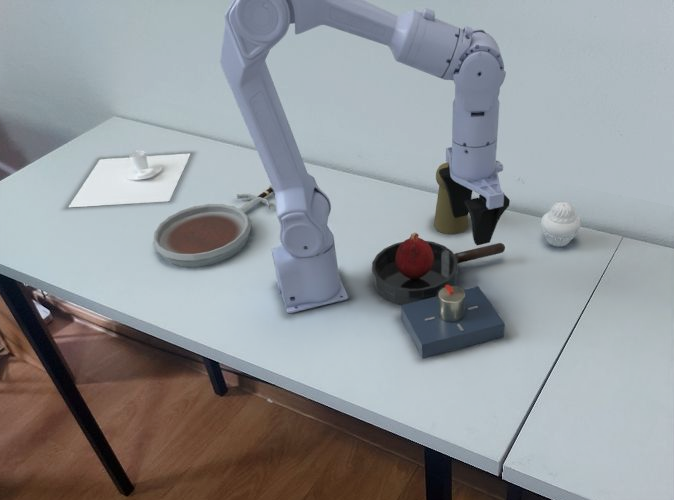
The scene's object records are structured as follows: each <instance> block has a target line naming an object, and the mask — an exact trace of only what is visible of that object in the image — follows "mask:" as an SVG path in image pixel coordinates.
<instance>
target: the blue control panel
mask: <svg viewBox="0 0 674 500" xmlns="http://www.w3.org/2000/svg"><path fill="white" fill-rule="evenodd" d="M463 290H464V292H465V314H464V317H463V318H462V319H461V320H459V321H455V322H448V321H444V320H443V319H441V318H440V317H439V305H438V296H436V297H432V298H428V299H424V300H420V301H416V302H412V303H408V304H404V305H400V319H401V320H402V323H403V324H404V326H405V328H406V330H407V332H408V334H409V335H410V338H411V339H412V342H413V343H414V345H415V347H416V349H417V351H418V353H419V354H420V357H421V359H425V358H428V357H432V356H436V355H439V354H444V353H447V352H451V351H456V350H459V349H463V348H467V347H470V346H474V345H477V344H481V343H485V342H489V341H493V340H497V339H500V338H504V337H505V328H506V327H505V326H506V323H505V321H504V319H502V317H501V316H500V314H499V313H498V311H497V310H496V309H495V307H494V306H493V304H492V303H491V302H490V300H489V298H488V297H487V296H486V294H485V293H484V292H483V291H482V289H481V288H480V286H479V285H477V286H473V287H468V288H464V289H463Z"/></svg>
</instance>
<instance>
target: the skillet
mask: <svg viewBox="0 0 674 500" xmlns="http://www.w3.org/2000/svg"><path fill="white" fill-rule="evenodd" d="M425 241H426V242H427V243H428V244H429V245H430V247H431V249H432V251H433V255H434V261H433V265H432V268H431V269H430V271H429V272H428V273H427V274H426V275H424V276H423V277H421V278H418V279H410V278H408V277H405V276H404V275H403V274H402V273H401V272H400V271H399V270H398V268H397V265H396V261H395V257H396V253H397V249H398V247H399V246H400V245H401V244H402V243H403V242H404V241H400V242H395V243H392V244H391V245H389V246H386V247H385V248H383V249H382V250H381V251H379V252H378V253H377V254H376V255H375V257H374V259H373V261H372V264H371V266H372V267H371V274H372V284H373V287H374V290H375V291H376V294H378V295H379V296H380V298H383V299H384V300H386V301H387V302H390V303H392V304H395V305H398V306H401V305H404V304H408V303H412V302H416V301H420V300H424V299H428V298H432V297H436V296H438V294H439V291H440V290H441V289H442V288H444V287H445V285H450V286H456V287H457V285H458V281H459V263H458V262H457V258H456V256H455V255H454V254H455V253H454V252H453V251H452V250H451V249H450V248H448V247H446V246H445V245H443V244H441V243H438V242H434V241H429V240H425Z"/></svg>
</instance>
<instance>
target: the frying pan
mask: <svg viewBox="0 0 674 500" xmlns="http://www.w3.org/2000/svg"><path fill="white" fill-rule="evenodd" d="M271 193H275V192H274V190H273V187H272V185H271V183H270V184H269V187H268V188H267V189H266V190H263V192H262V193H260V194H259V195H255V194H251V193H237V194H236V198H237V200H238V199H250V200H249V201H247V202H246V203H244V204H243V205H242V206H240V207H239V208H238V207H236V206H234V205H229V204H223V203H206V204H199V205H193V206H191V207H188V208H184V209H182V210H181V209H180V210H179V211H177V212H175V213H173V214H171V215H169V216H168V217H167V218H165V219H164V220H163V221H161V222H160V223H159V224H158V226H157V228H156V229H155V231H154V233H153V238H152V245H153V247H154V249H155V251H156V252H157V253H159V254H160V255H161V257H162V258H163V259H164V260H166V261H167V262H169V263H170V264H173V265H176V266H181V267H185V268H186V267H187V268H188V267H191V268H192V267H193V268H194V267H195V268H196V267H197V268H198V267H205V266H210V265H211V266H212V265H214V264H217V263H220V262H223V261H225V260H228V259H230V258H231V257H233V256H234V255H236V254H238V253H239V252H240V251H241V250H242V249H243V248H244V247H245V246H246V245H247V242H248V240H249V237H250V232H251V229H252V223H251V219H250V218H249V217H248V215H247V214H246V213H245V212H246V211H248V210H249V209H251V208H252V207H254V206H255V205H256V204H258V203H259V202H260V203H263V204H266V206H267V208H268V209H269V210H271V204H270V202H269V200H268V199H267V198H266V197H267V196H269V195H270V194H271Z"/></svg>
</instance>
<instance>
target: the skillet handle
mask: <svg viewBox="0 0 674 500" xmlns="http://www.w3.org/2000/svg"><path fill="white" fill-rule="evenodd" d="M505 250H506V246H505V244H504V243H503V242H498V243H493V244H488V245H484V246H480V247H477V248H472V249H467V250H464V251H459V252H456V253H454V255H455V256H456V258H457V262H458V264H462V263H466V262H469V261H474V260H478V259H483V258H487V257H489V256H495V255H499V254H503V253H504V252H505Z"/></svg>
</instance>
